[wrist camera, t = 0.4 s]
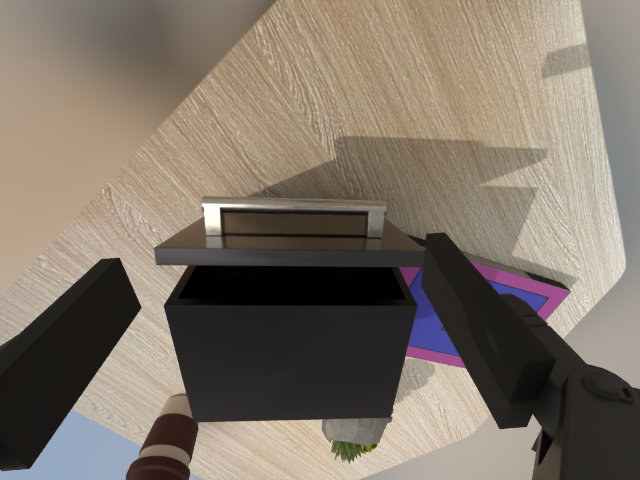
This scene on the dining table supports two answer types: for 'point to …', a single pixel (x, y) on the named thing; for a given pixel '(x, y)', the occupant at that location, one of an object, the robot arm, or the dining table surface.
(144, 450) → the coffee cup
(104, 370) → the dining table surface
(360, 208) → the oven door
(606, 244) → the dining table surface
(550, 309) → the book
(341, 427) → the potted plant
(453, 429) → the dining table surface
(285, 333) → the oven
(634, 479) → the robot arm
